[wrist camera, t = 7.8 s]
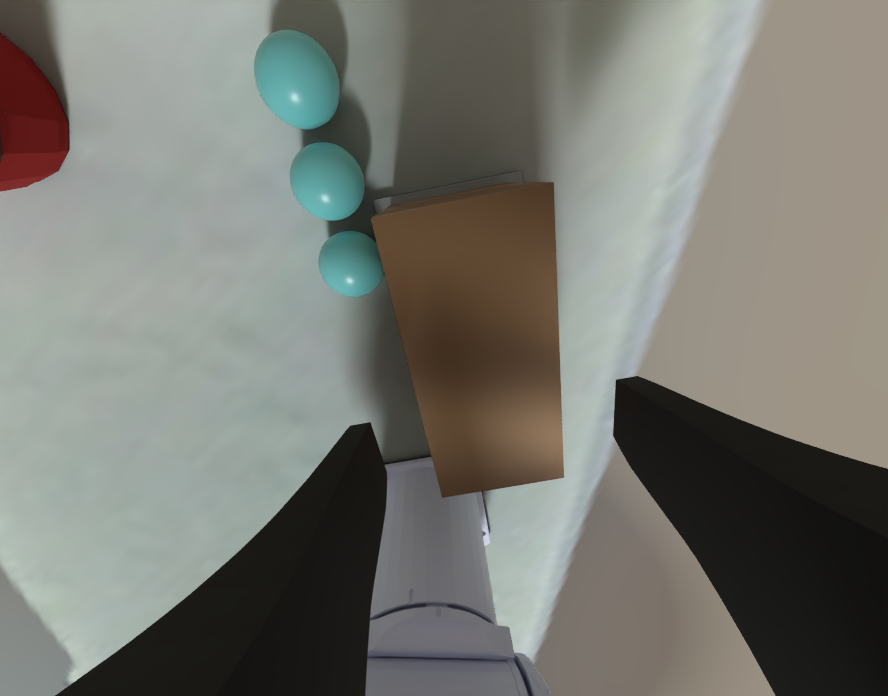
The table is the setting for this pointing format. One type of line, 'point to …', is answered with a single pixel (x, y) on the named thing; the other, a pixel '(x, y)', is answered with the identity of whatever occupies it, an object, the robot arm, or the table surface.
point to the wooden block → (480, 330)
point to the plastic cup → (28, 121)
